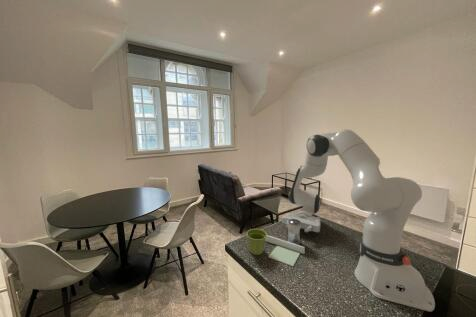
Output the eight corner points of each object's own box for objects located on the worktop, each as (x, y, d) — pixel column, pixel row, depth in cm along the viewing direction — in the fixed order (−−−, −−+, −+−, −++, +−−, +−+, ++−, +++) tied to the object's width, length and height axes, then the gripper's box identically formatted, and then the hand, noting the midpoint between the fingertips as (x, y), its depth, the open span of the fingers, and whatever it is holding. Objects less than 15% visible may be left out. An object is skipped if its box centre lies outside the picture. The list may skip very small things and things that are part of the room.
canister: (300, 241, 99) (301, 220, 98) (297, 246, 94) (298, 225, 93) (289, 237, 102) (290, 218, 101) (285, 243, 97) (286, 222, 96)
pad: (299, 254, 89) (300, 253, 89) (292, 266, 80) (293, 265, 80) (277, 246, 95) (277, 245, 95) (268, 257, 86) (268, 256, 86)
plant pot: (266, 246, 95) (266, 229, 94) (267, 258, 86) (267, 240, 84) (247, 244, 96) (247, 228, 95) (245, 257, 87) (246, 238, 85)
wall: (304, 253, 89) (304, 247, 89) (303, 254, 89) (304, 247, 88) (264, 239, 100) (264, 234, 100) (264, 240, 100) (264, 235, 99)
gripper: (286, 209, 117) (277, 217, 106) (323, 217, 106) (317, 227, 94) (286, 219, 118) (277, 228, 107) (322, 228, 107) (316, 239, 95)
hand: (296, 228), depth 100 cm, fingers open, 8 cm apart
